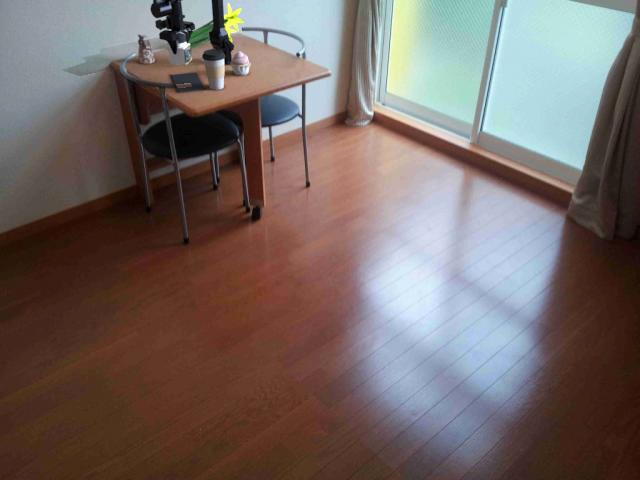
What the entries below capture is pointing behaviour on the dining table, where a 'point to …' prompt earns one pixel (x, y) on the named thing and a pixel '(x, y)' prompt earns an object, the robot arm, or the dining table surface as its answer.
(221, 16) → the robot arm
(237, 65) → the cupcake
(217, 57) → the coffee cup
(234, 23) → the daffodil flowers
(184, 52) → the medicine bottle
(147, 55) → the figurine
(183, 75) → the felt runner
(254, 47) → the dining table surface
